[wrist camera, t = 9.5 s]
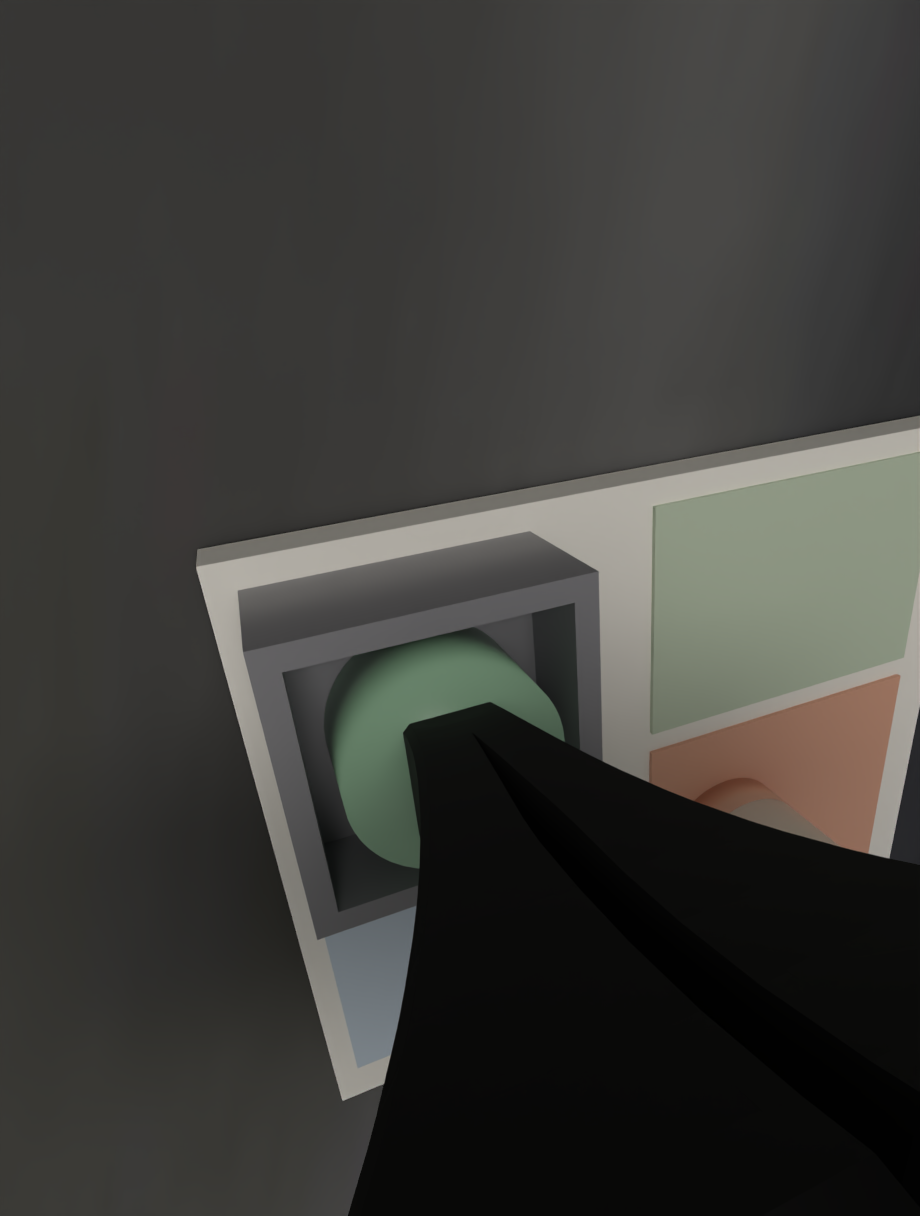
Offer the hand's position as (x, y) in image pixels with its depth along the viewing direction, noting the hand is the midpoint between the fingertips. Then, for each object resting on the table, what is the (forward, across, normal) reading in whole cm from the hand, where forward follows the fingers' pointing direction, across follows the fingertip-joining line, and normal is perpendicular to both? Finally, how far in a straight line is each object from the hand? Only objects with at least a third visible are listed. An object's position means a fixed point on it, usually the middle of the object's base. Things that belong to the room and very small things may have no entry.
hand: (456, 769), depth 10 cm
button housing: (+3, 0, 0) cm, 3 cm away
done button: (+2, 0, 0) cm, 2 cm away
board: (+4, -5, +4) cm, 7 cm away
